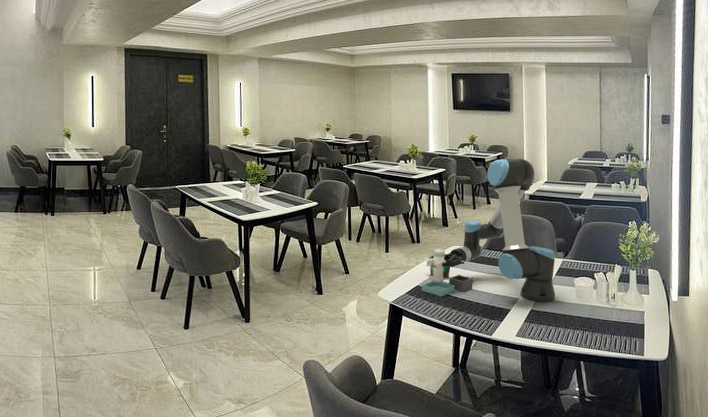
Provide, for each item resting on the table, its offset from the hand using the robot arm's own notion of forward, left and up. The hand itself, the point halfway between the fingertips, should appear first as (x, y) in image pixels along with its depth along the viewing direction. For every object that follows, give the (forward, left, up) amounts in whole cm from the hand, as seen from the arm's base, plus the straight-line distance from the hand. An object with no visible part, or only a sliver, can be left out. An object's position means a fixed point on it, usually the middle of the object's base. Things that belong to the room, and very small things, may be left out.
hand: (432, 264), depth 269 cm
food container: (+12, -24, -14) cm, 30 cm away
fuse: (0, -5, -9) cm, 10 cm away
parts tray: (-1, -5, -14) cm, 15 cm away
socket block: (-6, -17, -14) cm, 22 cm away
